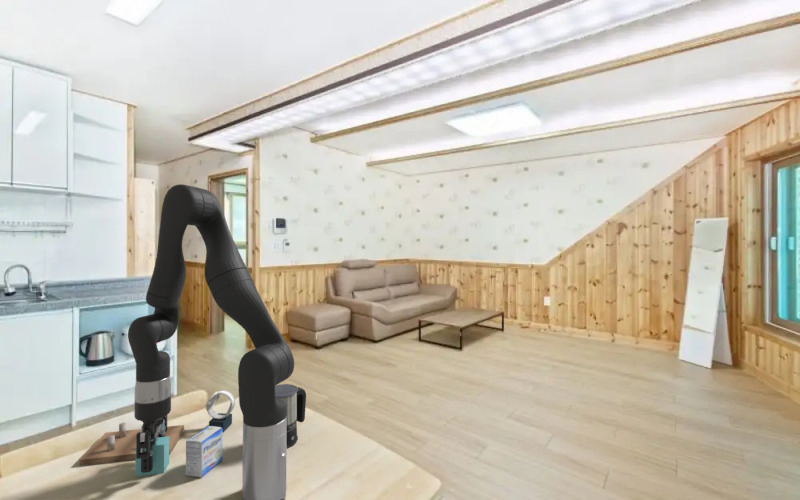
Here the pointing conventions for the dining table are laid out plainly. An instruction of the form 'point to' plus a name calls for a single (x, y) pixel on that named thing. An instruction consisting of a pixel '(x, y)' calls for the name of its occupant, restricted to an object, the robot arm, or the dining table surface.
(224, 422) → the silver ring on block
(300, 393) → the milk frother
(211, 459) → the medicine box
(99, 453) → the stub board
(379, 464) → the dining table surface
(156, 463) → the block
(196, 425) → the dining table surface
